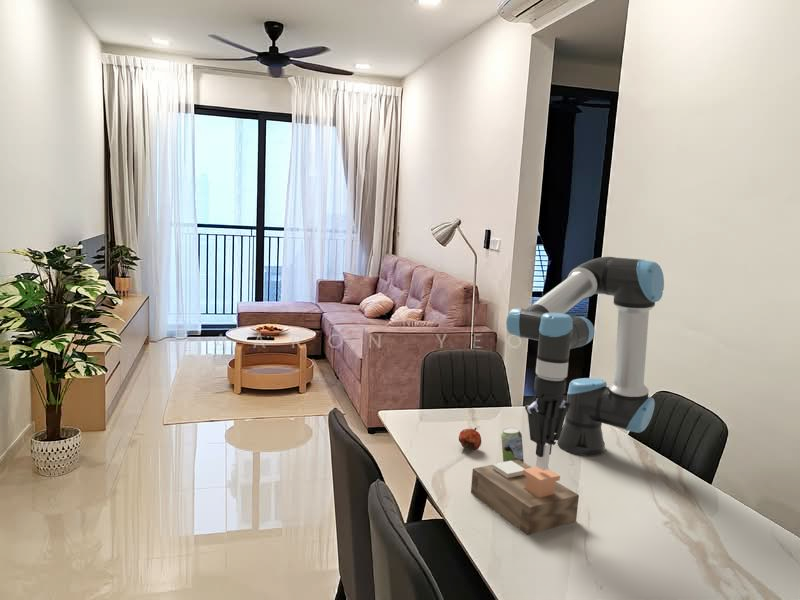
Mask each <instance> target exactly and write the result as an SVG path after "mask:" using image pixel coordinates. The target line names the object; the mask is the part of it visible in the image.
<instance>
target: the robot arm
mask: <svg viewBox="0 0 800 600" xmlns="http://www.w3.org/2000/svg"><path fill="white" fill-rule="evenodd" d="M664 277H665V276H664V273H663V270H662V266H660V265H659V264H658V263H657V262H655V261H652V260H651V261H650V260H646V259H640V258H639V259H638V258H629V257H628V258H626V257H615V256H601V257H597V258H593V259H590V260H588V261H586V262H584V263H582V264H580V265H579V264H578V266H576V267H574V268H573V269H572V270H571V271H570V272H569V274H568V275H567V278H566V279H564V280H563V281H562V282H560V283H559V284H557V285H556V286H555V287H553V288H552V289H551V290H550V291H548V292H546V293H545V294H544V295H543V296H541V297H540V298H539V299H538V300H536V301H535V302H534V303H532V304H530V306H529V307H527V308H522V307H520V308H517V307H516V308H512V309H511V310H510V311H509V312H508V314H507V316H506V320H505V325H506V327H505V328H506V330H507V332H508V334H510V335H512V336H515V337H519V338H523V339H529V340H533V341H538V344H537V355H536V363H535V364H536V365H535V376H534V386H533V390H534V392H535V395H534V397H533V402H532V403H531V404H530V405H529V404H526V405H525V407H524V409H525V411H526V413H527V419H528V428H529V429H528V431H529V439H530V441H532V442H533V443H535V445H536V448H535V455H536V461H535V467H538V468H540V469H542V470H548V469H549V461H550V455H551V454H552V448H553V447H552V446H554V445H556V443H557V446H558V447H559V448H560V449H562V450H563V451H565V452H567V453H570V454H571V453H572V454H575V455H579V456H587V457H588V456H589V457H594V456H595V457H596V456H600V455H602V454H604V453H605V448H606V443H605V441H604V436H603V430H602V427H603V426H602V425H603V424H604V425H608V426H611V427H613V428H614V427H615V428H618V429H622V430H625V431H627V432H629V431H630V432H633V433H638V434H639V433H642V432H644V431H645V430H646V428H647V427H648V426H649V424H650V422H651V420H652V417H653V414H654V410H655V405H656V402H655V399H654V398H653V397H651V396H649V388H648V387H647V386H646V385H645V370H646V355H647V354H646V353H647V342H648V332H649V331H648V327H649V317H650V316H649V313H650V310H652V309H653V308H654V307H655V306H656V303H657V302H660V300H661V299H662V297H663V293H664V292H663V291H664V288H665V278H664ZM593 295H607V296H612V297H613V305H614V306H615V307H616V308H617V309H618V310H617V311H618V315H617V327H616V331H617V332H616V347H615V348H616V349H615V361H614V362H615V364H614V378H613V379H614V381H613V382H611V383H609V385H608V384H607V381H606V380H604V379H601V378H594V377H593V378H592V377H583V378H582V377H581V378H576V379H575V378H574V379H572V380H571V381H570V382H569V385H568V390H567V379H566V378H567V377H568V373H569V372H568V371H569V361H570V360H569V359H570V351H571V350H572V349H576V348H582V347H584V346H585V345H587V344H589V343H590V342H591V341H592V340H593V338H594V337H595V328H594V325H593V323H592V322H591V320H589V319H588V318H586V317H584V316H571V315H570V314H567V312H569V310H570V309H572V308H573V307H575V306H576V305H577V304H578V303H580V302H581V301H582V300H583V299H585V298H590V297H592V296H593ZM607 385H608V386H607ZM566 390H567V392H566ZM565 393H567V396H566V400H565V399H564V395H565ZM556 441H557V442H556Z"/></svg>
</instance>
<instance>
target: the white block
mask: <svg viewBox="0 0 800 600" xmlns="http://www.w3.org/2000/svg"><path fill="white" fill-rule="evenodd" d="M492 465H493V466H492V469H494V470H496V471H497V472H499V473H500V474H502V475H503V476H505V477H506V478H511V477H515V476H520V475H524V474H523V469H524V468H523V467H521V466H519V465H518V464H516V463H514V462H513V461H506V462H503V461H502V462H497V463H492Z"/></svg>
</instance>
